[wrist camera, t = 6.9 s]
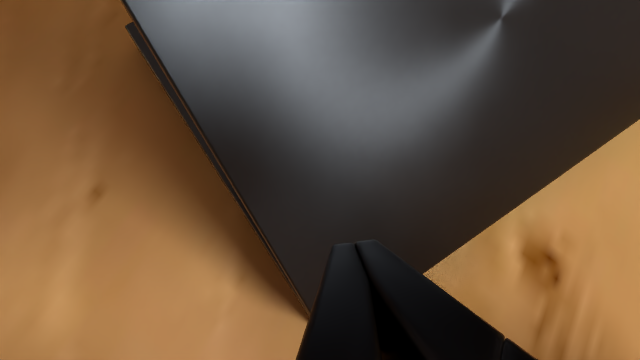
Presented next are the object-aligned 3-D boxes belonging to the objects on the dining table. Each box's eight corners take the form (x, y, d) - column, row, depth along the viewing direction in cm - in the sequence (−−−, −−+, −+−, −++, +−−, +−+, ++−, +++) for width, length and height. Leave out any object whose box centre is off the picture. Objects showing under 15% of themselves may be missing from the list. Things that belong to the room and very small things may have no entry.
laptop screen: (32, -146, 10) (29, -152, 9) (717, -429, 14) (749, -447, 13) (318, 329, 19) (327, 343, 19) (671, 81, 23) (689, 84, 23)
